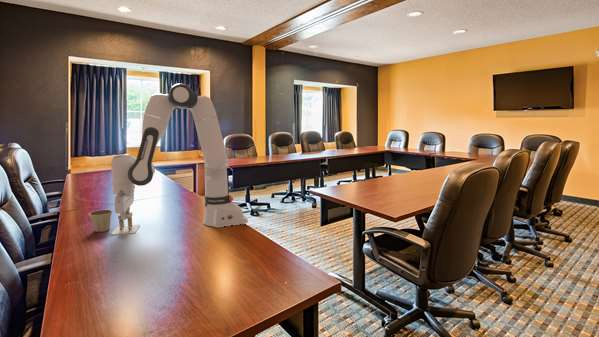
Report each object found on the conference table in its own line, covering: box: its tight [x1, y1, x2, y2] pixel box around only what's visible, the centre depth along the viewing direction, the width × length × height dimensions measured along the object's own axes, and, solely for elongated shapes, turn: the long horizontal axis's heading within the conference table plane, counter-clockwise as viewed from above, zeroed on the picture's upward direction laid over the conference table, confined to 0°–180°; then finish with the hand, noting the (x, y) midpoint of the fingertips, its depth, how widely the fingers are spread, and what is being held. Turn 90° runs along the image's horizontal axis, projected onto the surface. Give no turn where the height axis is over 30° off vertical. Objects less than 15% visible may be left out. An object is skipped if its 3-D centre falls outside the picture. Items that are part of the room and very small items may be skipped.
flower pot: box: [88, 209, 113, 233], centre depth 154 cm, size 9×9×9 cm
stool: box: [117, 211, 133, 230], centre depth 154 cm, size 5×5×7 cm
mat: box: [110, 224, 141, 236], centre depth 155 cm, size 10×12×1 cm
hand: (125, 217), depth 154 cm, fingers closed on stool, 5 cm apart
